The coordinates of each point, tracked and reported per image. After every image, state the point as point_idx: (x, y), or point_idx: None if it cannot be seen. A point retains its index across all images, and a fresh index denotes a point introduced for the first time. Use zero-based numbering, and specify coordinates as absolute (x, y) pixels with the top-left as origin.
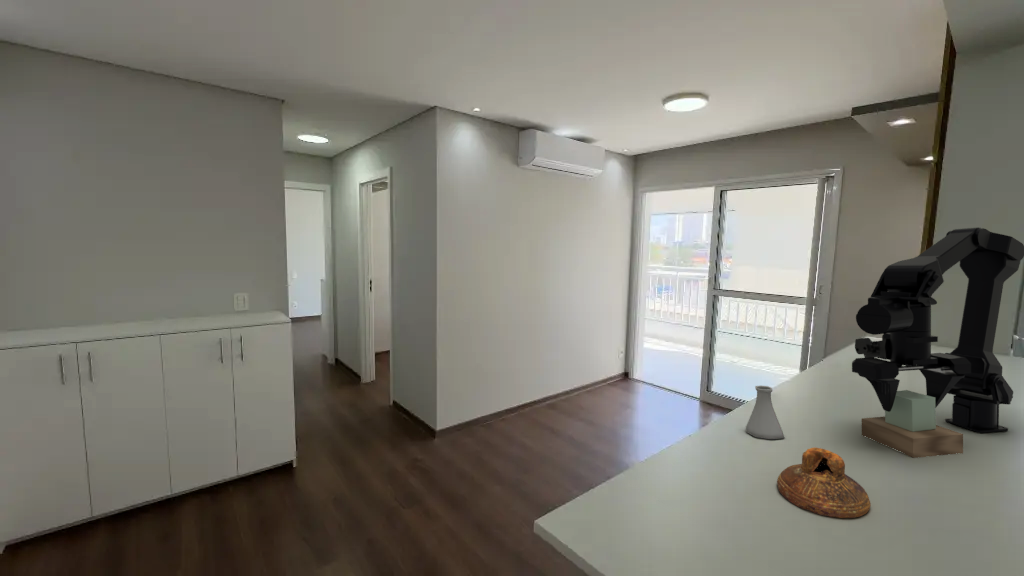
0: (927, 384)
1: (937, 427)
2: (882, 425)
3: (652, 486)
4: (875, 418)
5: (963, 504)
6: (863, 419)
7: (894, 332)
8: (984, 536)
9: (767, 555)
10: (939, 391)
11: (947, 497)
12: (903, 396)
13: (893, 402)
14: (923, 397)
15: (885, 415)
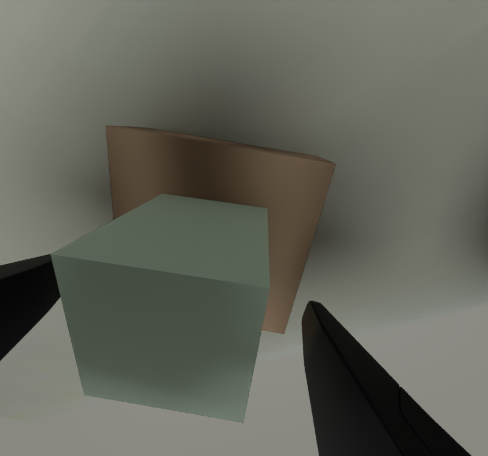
0: (381, 433)
1: (278, 285)
2: (123, 211)
3: None
4: (161, 149)
5: (77, 371)
6: (107, 135)
7: None
8: (38, 401)
9: None
10: (327, 447)
11: (72, 358)
12: (96, 352)
13: (25, 331)
14: (187, 399)
15: (148, 202)
